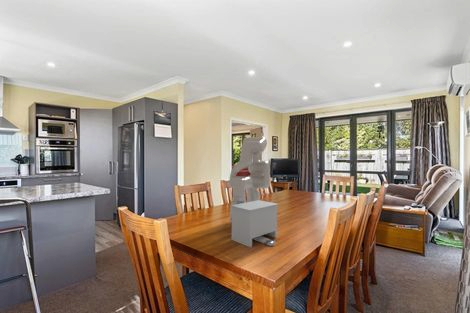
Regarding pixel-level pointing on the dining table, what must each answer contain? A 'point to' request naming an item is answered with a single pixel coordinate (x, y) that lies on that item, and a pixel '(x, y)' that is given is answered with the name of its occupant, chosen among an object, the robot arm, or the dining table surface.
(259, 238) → the blade tool
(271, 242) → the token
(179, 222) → the dining table surface
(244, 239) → the cabinet
